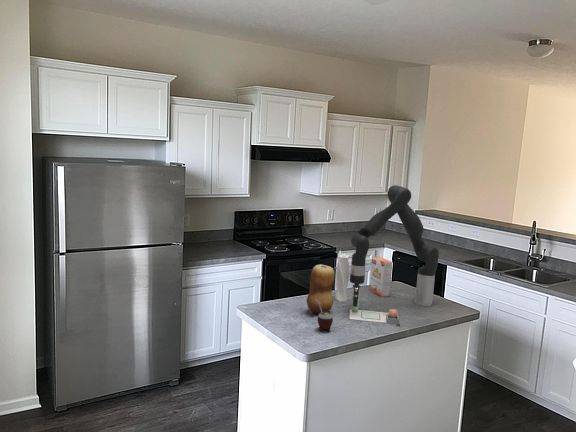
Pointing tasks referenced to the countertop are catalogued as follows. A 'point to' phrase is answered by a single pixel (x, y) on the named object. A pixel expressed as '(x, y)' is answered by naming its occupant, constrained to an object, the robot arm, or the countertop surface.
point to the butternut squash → (321, 289)
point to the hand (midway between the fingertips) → (355, 303)
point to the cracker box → (381, 276)
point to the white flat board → (373, 317)
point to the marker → (355, 309)
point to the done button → (393, 313)
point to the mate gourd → (324, 320)
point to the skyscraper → (342, 277)
